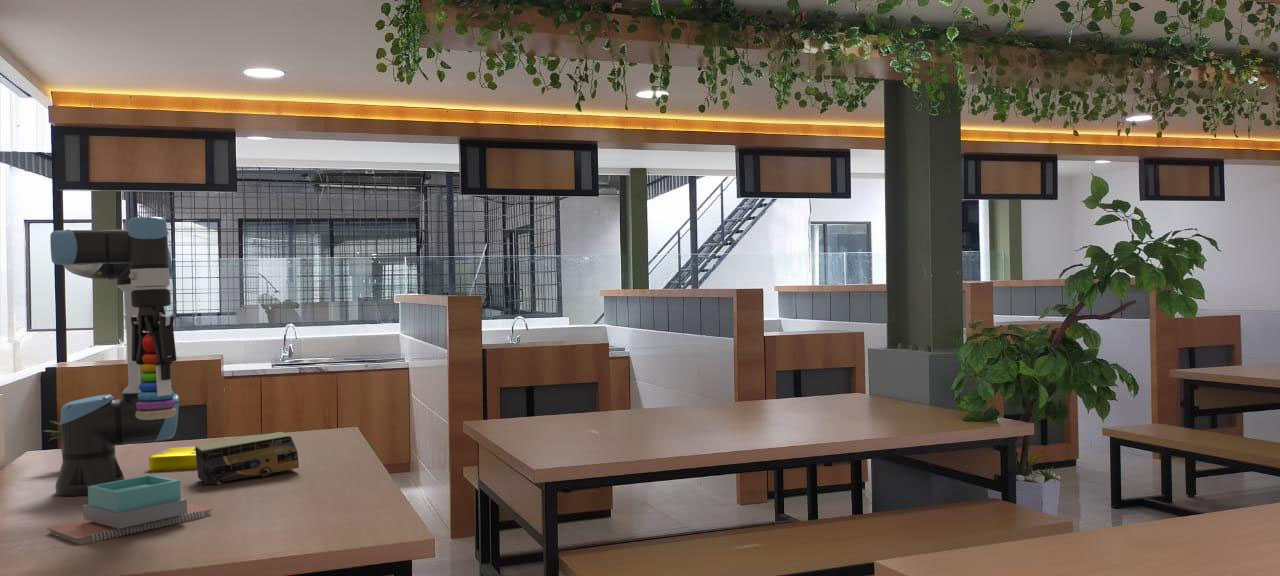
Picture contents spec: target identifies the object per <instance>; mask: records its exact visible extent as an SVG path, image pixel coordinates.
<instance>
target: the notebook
mask: <svg viewBox="0 0 1280 576" xmlns="http://www.w3.org/2000/svg"><path fill="white" fill-rule="evenodd" d="M211 511H213V509H212V508H210V507H206V506H201V505H197V504H193V503H189V502H187V514H183V515H178V516H174V517H170V518H165V519H161V520H156V521H152V522H148V523H143V524H139V525H134V526H130V527H125V528H121V529H117V528H113V527H110V526H106V525H103V524H99V523H95V522H92V521H88V520H85V519H83V520H77V521H72V522H68V523H63V524H59V525H58V524H57V525H54V526H50V527H49V526H48V527H46V529H47V530H49V534H50V533H52V534H55V535H58V536H60V537H59V538H61V537H63V538H62V539H64V538H66V539H69V540H71V541H70V542H72V541H74V542H73V543H75V542H77V543H78V545H84V543H85V544H89V543H95V542H99V541H101V542H102V541H103V540H105V541H106V540H107V539H108V540H110V539H111V538H112V539H114V538H118V537H122V536H126V535H127V536H128V535H133V534H136V533H140V532H141V533H143V531H144V532H146V531H147V530H148V531H150V529H151V530H154V529H157V528H158V529H159V528H161V527H162V528H164V526H165V527H168V526H171V525H173V526H174V525H175V524H180V523H181V522H182V523H184V522H187V523H188V521H189V522H190V521H191V520H192V521H195V520H198V519H201V518H202V519H204V517H209V516H211ZM52 534H51V535H52ZM55 535H54V536H55ZM58 536H57V537H58ZM66 539H65V540H66ZM69 540H68V541H69ZM77 543H76V544H77Z"/></svg>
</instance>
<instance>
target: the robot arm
mask: <svg viewBox="0 0 1280 576" xmlns="http://www.w3.org/2000/svg"><path fill="white" fill-rule="evenodd" d="M127 223H128V224H127V228H128V229H98V230H97V229H95V230H94V229H86V230H85V229H79V230H77V229H75V230H74V229H63V230H54V231H52V232H51V233H50V236H49V237H50V238H49V239H50V240H49V241H50V242H49V243H50V257H51V262H52V264H54V265H57V266H58V265H61V266H63V267H64V268H65V269H66V270H67V271H68V272H70V273H71V274H73V275H76V276H79V277H83V278H86V279H93V280H102V281H106V280H111V281H112V280H115V281H116V285H117V286H116V287H117V288H118V289H119V290H121V291H122V292H123V294H124V313H125V314H124V315H125V316H124V317H125V332H126V333H125V334H126V353H127V354H126V357H127V358H126V359H127V374H128V375H127V377H128V379H127V380H128V385H127V386H126V387H125V388H124V390H123V391H122V392H121V393H122V395H121V396H122V398H121V399H119V398H118V399H114V396H113V395H112V394H102V395H94V396H89V397H84V398H81V399H76V400H73V401H69V402H66V403H65V404H64V405H63V406H62V407H61V409H60V422H59V423H60V424H61V427H60V428H61V429H60V430H61V431H60V432H62V436H61V438H62V439H61V440H62V441H61V448H62V451H61V457H62V462H61V466H60V469H59V473H58V476H57V479H56V483H55V494H56V495H57V496H61V495H62V496H63V497H65V496H66V497H68V496H69V497H72V496H73V497H75V496H88V486H92V485H98V484H103V483H108V482H114V481H119V480H124V479H125V476H124V474H123V470H122V468H121V466H120V463H119V462H118V459H117V456H116V446H121V445H131V444H132V445H133V444H139V443H150V442H154V443H156V442H159V441H164V440H171V439H172V438H173V437H174V436H175V434H176V432H177V428H178V420H179V408H180V406H179V404H180V397H179V395H178V394H177V393H174V396H173V398H171V399H173V400H174V401H175V405H174V406H173V408H175V409H176V411H177V413H176V415H175V416H173V417H170V418H164V419H154V420H141V419H138V418H136V416H135V414H136V412H137V411H138V409H137V408H136V403H137V402H138V401H140V400H139V399H138V394H139V392H141V391H140V389H139V385H140V383H142V382H143V381H141V379H140V376H141V374H143V373H144V372H142V370H141V366H142V365H143V364H146V363H144V362H143V360H142V357H143V356H144V355H145V354H150V353H147V352H146V351H145V350H144V348H143V346H142V340H143V338H144V336H145V335H146V334H148V333H149V335H150V336H152V339H153V343H154V348H155V352H156V356H157V360H158V362H157V363H155V365H156V380H157V396H165V395H172V394H171V390H173V387H172V388H171V382H172V374H171V372H172V371H171V365H172V364H173V363H174V362H177V351H176V343H175V332H174V320H175V319H174V316H173V314H172V315H170V314H169V315H167V314H166V312H165V307H168V306H171V290H170V289H168V287H170V285H171V283H170V282H171V281H170V279H171V278H173V276H174V271H173V263H172V258H171V253H170V248H169V243H168V235H169V231H168V228H167V227H168V226H167V221H166V219H165V218H164V217H159V216H136V217H131V218H130V219H129V220H128V222H127ZM60 424H59V425H60ZM62 496H61V497H62Z"/></svg>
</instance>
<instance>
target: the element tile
mask: <svg viewBox="0 0 1280 576" xmlns="http://www.w3.org/2000/svg"><path fill="white" fill-rule="evenodd" d="M148 469H149V472H160V471H162V472H163V471H165V472H166V471H177V470H178V471H181V470H197V461H196V450H195V446H185V447H184V446H182V447H170V448H166V449H164V450H161V451H159V452H156V453H155V454H153V455H150V456H149V457H148Z"/></svg>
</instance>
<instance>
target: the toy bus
mask: <svg viewBox="0 0 1280 576" xmlns="http://www.w3.org/2000/svg"><path fill="white" fill-rule="evenodd" d="M194 447H195V450H196V461H197V469H196V470H197V478H198V479H199V480H200V481H201V482H203V483H204V485H211V484H216V485H222V484H224V482H229V481H230V482H231V481H233V480H234V481H235V480H240V479H245V478H246V479H247V478H250V477H251V478H252V477H257V476H260V477H261V478H262V479H267V478H269V477H270V476H271V474H273V473H278V472H283V471H289V470H295V469H298V468H299V467H300V465H299V463H300V462H299V452H298V449H297V446H296V444H295V443H294V441H293V438H292V436H291V435H290V434H287V433H285V432H283V431H278V432H272V433H266V434H260V435H253V436H247V437H240V438H236V439H230V440H228V439H227V440H224V441H217V442H212V443H211V442H210V443H205V444H204V443H203V444H201V445H200V444H199V445H195V446H194Z"/></svg>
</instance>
